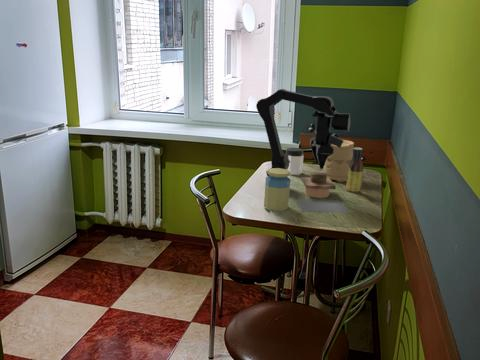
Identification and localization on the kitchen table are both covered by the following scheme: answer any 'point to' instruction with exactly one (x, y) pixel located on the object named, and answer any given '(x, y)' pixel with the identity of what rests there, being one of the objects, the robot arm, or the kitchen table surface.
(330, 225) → the kitchen table surface
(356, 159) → the sauce bottle
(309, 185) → the walnut cover
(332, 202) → the charcoal mat
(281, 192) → the jar
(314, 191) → the terracotta bowl
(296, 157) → the jar
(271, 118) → the robot arm
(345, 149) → the container
